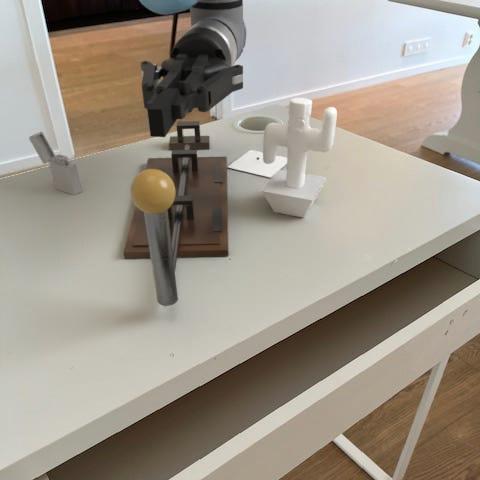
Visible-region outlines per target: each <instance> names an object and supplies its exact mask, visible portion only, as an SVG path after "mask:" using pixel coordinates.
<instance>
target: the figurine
mask: <svg viewBox="0 0 480 480" xmlns="http://www.w3.org/2000/svg"><path fill="white" fill-rule="evenodd" d="M312 109H313V100H311V99H309V98H306V97H293V98H291V99H290V100H289V105H288V117H289V118H288V120H287V123H286V124H285V123H279V122H270V123H268V124H267V125H266V126H265V128H264V131H263V139H262V141H263V142H262V152H263V161H264V163H266V164H271V163H273V162H274V161H275V158H276V155H277V147H278V146H279V147H284V148H287V149H286V150H287V155H286V158H287V164H286V170H284V169H279V171H278V172H277V173H275V174H274V175H273V176H272V177H271V179H270V180H269V181H268V183H267V184H266V185H265V186H264V187H263V188H262V190H261V192H262V194H263V196H264V197H265V199H266V201H267V202H268V204H269V206H270V208H271V210H273V212H274V213H278V214H283V215H288V216H293V217H298V218H303V219H304V218H305V217H306V215H307V214H308V212H309V210H310V209H311V208H312V206H313V204H314V202H315V201H316V199H317V197H318V195H319V194H320V192H321V190H322V189H323V186H324V185H325V183H326V181H327V180H328V177H327V176H322V175H321V176H320V175H315V174H310V173H306V169H307V157H308V151H310V152H311V151H312V152H316V153H317V152H318V153H328V152H330V151H331V150H332V148H333V145H334V142H335V135H336V126H337V118H338V111H337V108H336V107H334V106H328V107H327V108H325V110H324V111H323V115H322V123H321V128H315V127H311V125H310V118H311V117H310V116H311V115H312Z"/></svg>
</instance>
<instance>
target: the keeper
mask: <svg viewBox="0 0 480 480" xmlns="http://www.w3.org/2000/svg"><path fill="white" fill-rule="evenodd" d="M184 130H194V131H193V132H194V135H185V134H184ZM185 145H189V146H190V150H193V149H194V150H210V149H211V148H210V147H211V137H210V135H202V134H201V121H200V120H191V121H190V120H189V121H176V135H174V136H172V135H171V136H170V137H169V141H168V150H170V151H172V150H184V148H185Z"/></svg>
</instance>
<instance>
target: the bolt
mask: <svg viewBox="0 0 480 480" xmlns="http://www.w3.org/2000/svg"><path fill="white" fill-rule="evenodd" d="M184 150H190V146H189V145H185V148H184ZM188 161H189V157H188V158H183V162H182V169H181V177H180V184H179V191H178V196H183V195H184V194H185V186H186V178H187V169H188ZM175 194H176V191H175V186H174V183H173V181H172V179H171V178H170V177H169V176H168V175H167V174H166V173H164V172H163V171H161V170H158V169H147V170H145V169H144V170H142V171H140V172H139V173H137V174H136V176H134V178H133V180H132V182H131V186H130V197H131V199H132V202H133V204H134V206H135V207H136V206H137V207H138V208H139V209H140V210H141V211H143V212H144V216H145V223H146V229H147V236H148V242H149V249H150V256H151V258H150V261H151V269H152V274H153V281H154V288H155V294H156V295H155V296H156V301H157V303H158V305H160V306H164V307H169V306H173V305H175V304H176V303H177V302H178V300H179V295H178V286H177V278H176V277H177V276H176V269H177V260H178V257H177V253H178V245H179V236H180V228H181V220H182V211H183V205H176V213H175V220H174V227H173V234H172V241H171V234H170V225H169V217H168V209H169V208H170V207H171V206H172V204H173V202H174V199H175Z"/></svg>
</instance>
